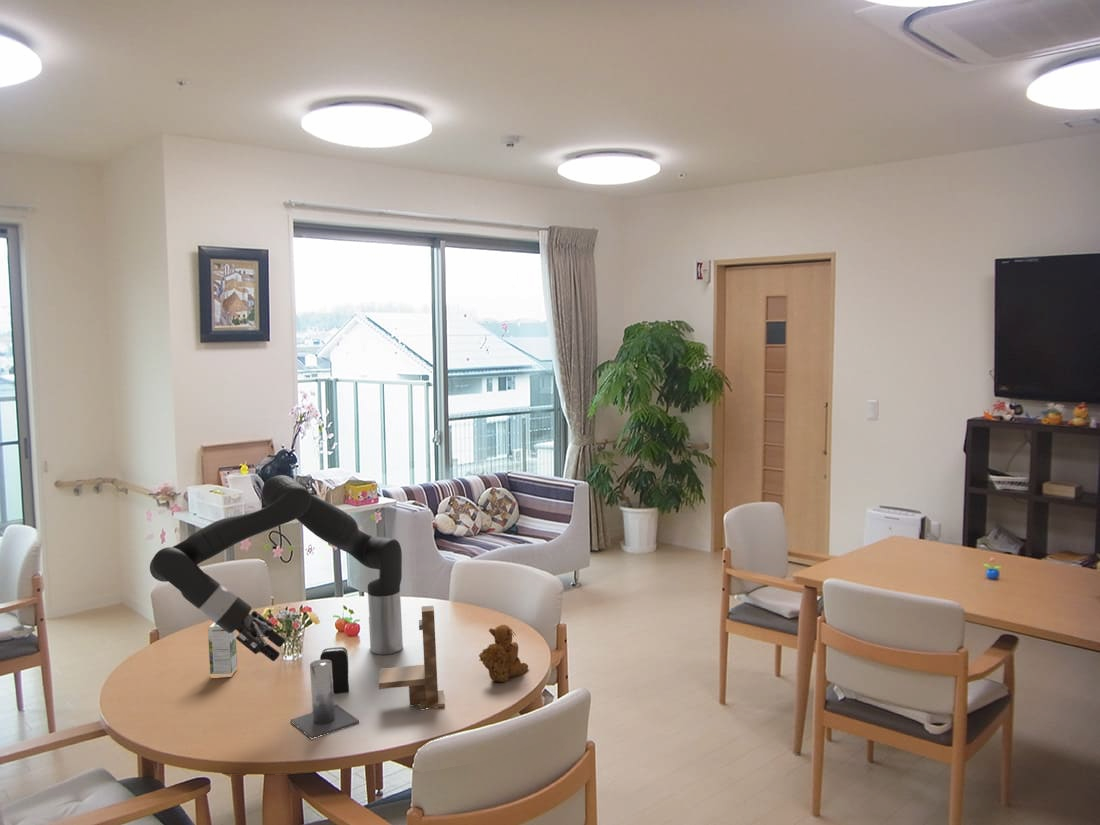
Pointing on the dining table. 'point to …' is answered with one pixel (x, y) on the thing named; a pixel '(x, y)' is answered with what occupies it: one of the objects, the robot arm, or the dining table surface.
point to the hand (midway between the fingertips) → (280, 650)
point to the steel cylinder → (322, 692)
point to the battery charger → (338, 667)
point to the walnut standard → (419, 670)
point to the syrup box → (222, 650)
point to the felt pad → (314, 730)
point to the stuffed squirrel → (502, 655)
